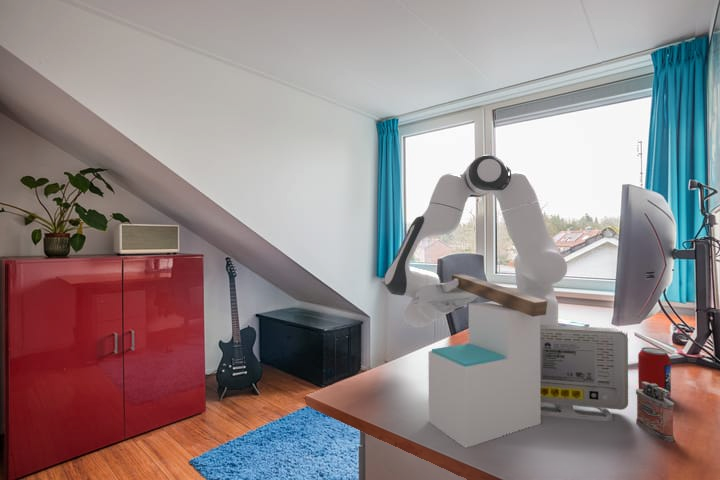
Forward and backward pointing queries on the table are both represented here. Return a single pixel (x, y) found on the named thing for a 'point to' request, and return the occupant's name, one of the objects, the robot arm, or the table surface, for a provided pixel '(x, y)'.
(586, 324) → the light bulb box
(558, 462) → the table surface
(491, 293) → the walnut block
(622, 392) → the network device
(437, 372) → the stepped stand
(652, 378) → the beverage can
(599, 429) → the table surface
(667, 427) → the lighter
